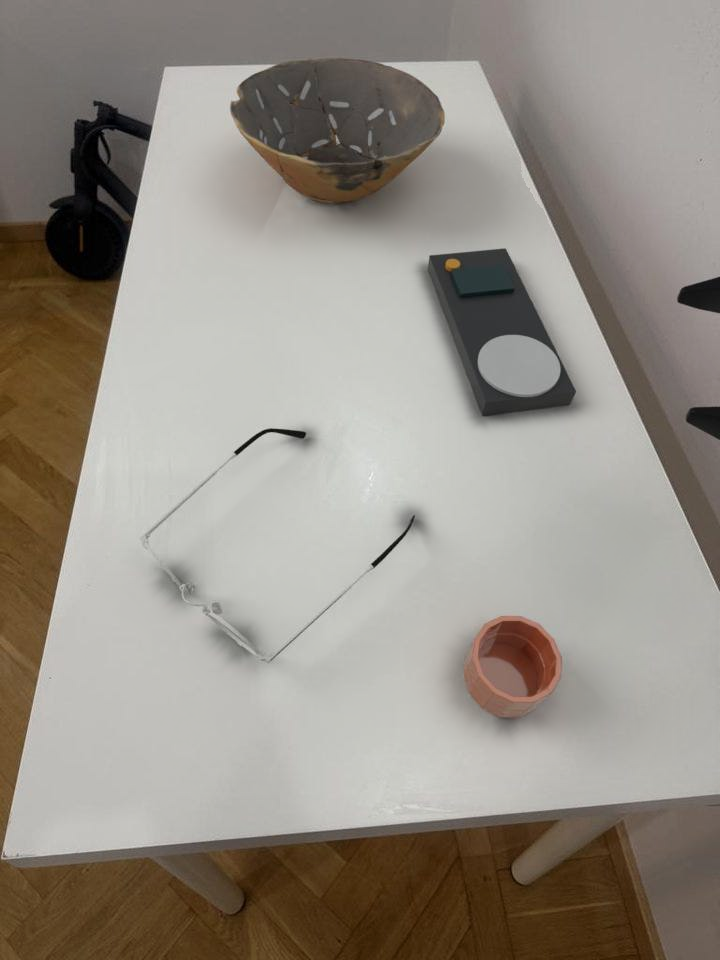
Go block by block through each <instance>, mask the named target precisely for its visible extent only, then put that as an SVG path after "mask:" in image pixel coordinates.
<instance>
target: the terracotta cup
mask: <svg viewBox="0 0 720 960" xmlns="http://www.w3.org/2000/svg"><path fill="white" fill-rule="evenodd" d="M562 660H563V658H562V655H561V653H560V650H559V648H558V645H557V643H556V640H555V639H554V637H553V636H552V635H551V634H550V633H549V632H548V631H547V630H546V629H545V628H544V627H543V626H542V625H541V624H539V623H538V622H536V621H534V620H531V619H528V618H526V617H525V616H522V615H500V616H499V617H496V618H493V619H492V620H490V621H488V622H486V623H484V624H483V626H482V628H481V629H480V630H479V631H478V633H477V634H476V636H475V637H474V639H473V641H472V643H471V644H470V647H469V649H468V650H467V652H466V655H465V657H464V664H463V672H462V675H463V679H464V683H465V685H466V689H467V692H468V693H469V696H470V697H472V698H473V700H474V701H475V702H476V703H477V704H478V706H479V707H480V708H481V709H483V711H484V710H485V711H486V712H488V713H491V714H493V715H495V716H497V717H499V718H522V717H523V716H525V715H528V714H529V713H531V712H532V711H535V710H536V709H538V707H539V706H540V705H541V704H542V703H543V702H544V701H545V700H546V699H547V698H548V697H549V696H550V695H551V694H552V693H553V691H554V690H555V688H556V686H557V684H558V683H559V681H560V680H561V677H562V664H563V663H562V662H563V661H562Z"/></svg>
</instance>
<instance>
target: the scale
mask: <svg viewBox="0 0 720 960" xmlns="http://www.w3.org/2000/svg"><path fill="white" fill-rule="evenodd" d="M427 272H428V275H429V277H430V281H431V283H432V286H433V288H434V291H435V294H436V297H437V299H438V301H439V305H440V308H441V310H442V312H443V315H444V318H445V320H446V323H447V325H448V328H449V331H450V333H451V336H452V339H453V341H454V344H455V348H456V350H457V352H458V355H459V358H460V360H461V364H462V365H463V368H464V369H463V370H464V371H465V374H466V376H467V379H468V382H469V385H470V388H471V390H472V393H473V395H474V398H475V401H476V404H477V406H478V408H479V411H480V414H481V416H482V417H485V416H494V415H500V414H501V415H502V414H508V413H509V414H511V413H518V412H524V411H534V410H540V409H547V408H549V409H550V408H556V407H563V406H564V407H565V406H570V405H572V401H573V399H574V397H575V395H576V393H577V390H576V387H575V386H574V384H573V382H572V380H571V378H570V376H569V373H568V372H567V370H566V368H565V366H564V364H563V362H562V359H561V358H560V355H559V353H558V351H557V349H556V347H555V345H554V343H553V341H552V339H551V337H550V335H549V333H548V331H547V329H546V327H545V325H544V323H543V320H542V319H541V317H540V315H539V313H538V311H537V308H536V307H535V305H534V303H533V300H532V298H531V297H530V294H529V292H528V290H527V288H526V286H525V285H524V282H523V280H522V278H521V276H520V274H519V273H518V269H517V268H516V266H515V264H514V262H513V261H512V258H511V256H510V254H509V252H508V249H507V248H505V247H504V248H493V249H484V250H483V249H482V250H474V251H473V250H472V251H463V252H452V253H441V254H430V255H429V256H428V264H427Z"/></svg>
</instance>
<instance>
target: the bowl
mask: <svg viewBox="0 0 720 960" xmlns="http://www.w3.org/2000/svg"><path fill="white" fill-rule="evenodd" d="M236 94H237V96H238V98H239V99H237V100H231V101H230V103H229V112H230V115H231V117H232V119H233V122H234V124H235V126H236V128H237V130H238V131H239V133H240V135H241V136H242V137H243V138H244V139H245V140H246V141H247V142H248V144H249V145H250V146H251V147H252V148H253V149H254V150H255V151H256V153H257V154H259V156H260V157H261V158H262V159H263V160H264V161H265V162H266V163H267V165H269V166H270V167H271V168H272V169H273V170H274V171H275V172H276V173H277V174H278V175H279V176H280V177H281V178H282V180H283V181H284V183H286V184H287V185H288V186H289V187H291V189H293V190H294V191H296V192H297V193H299V194H300V195H302V196H304V197H306V198H308V199H310V200H312V201H314V202H317V203H318V202H319V203H324V204H332V205H334V204H335V205H337V204H342V203H347V202H354V201H358V200H361V199H363V198H367V197H368V196H370V195H372V194H375V193H376V192H378V191H379V190H381V189H382V188H383V187H385V186H386V185H388V184H389V183H390V182H392V181H393V180H394V179H396V178H397V177H398V176H399V175H400V174H401V173H402V172H403V171H404V170H406V168H407V167H408V166H409V165H411V164H412V163H413V162H414V161H415V160H416V159H417V158H418V157H419V156H420V155H422V153H424V151H425V150H426V149H427V148H428V147H429V146H430V145H431V144H432V143H433V142H434V141H435V140H436V139H437V138H439V136H440V135H441V133H442V130H443V127H444V125H445V120H446V115H445V114H446V113H445V110H444V108H443V106H442V103H441V100H440V98H439V96H438V95H437V94H436V93H435V92H434V91H432V89H431V88H430V87H429V86H428V85H427V84H425V82H423V81H421V80H420V79H418V78H417V77H415V76H414V75H412V74H411V73H408V72H406V71H404V70H401V69H398V68H397V67H393V66H391V65H386V64H384V63H381V62H376V61H372V60H364V59H356V58H343V57H342V58H341V57H333V58H332V57H331V58H328V57H327V58H317V59H316V58H315V59H312V58H304V59H303V58H302V59H295V60H290V61H289V60H288V61H283V62H280V63H278V64H274V65H272V66H269V67H268V68H266V69H263V70H260V71H257V72H255V73H254V74H251V75H250V76H248V77H247V78H245V79H244V80H242V81H241V83H240V84H239V85H238V86H237V88H236ZM337 139H338V141H339V143H337Z"/></svg>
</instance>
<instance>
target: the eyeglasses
mask: <svg viewBox="0 0 720 960" xmlns="http://www.w3.org/2000/svg"><path fill="white" fill-rule="evenodd" d="M270 433H273V434H274V433H275V434H279V435H285V436H290V437H293V438H297V439H301V440H304V439H305V438H306V436H307V432H306V431H302V430H295V429H288V428H287V429H286V428H274V427H273V428H271V427H269V428H266V429H263V430H261V431H259V432H257V433H256V434H254V435H253V436H252V437H250V438H248V440H247V441H245V442H244V443H243V444H241V445H240V446H239V447H237V448H236V450H234V451H233V452H232V454H231V455H230V456H229V458H228V459H227V460H226V461H225V462H224V463H222V464H221V465H220V466H219V467H218V468H217V469H216V470H214V471H212V472H211V473H210V474H209V475H208V476H207V477H206V478H204V479H203V481H201V482H200V483H199V484H198V485H197V486H195V488H193V489H192V491H190V492H189V493H188V494H187V495H186V496H185V497H184V498H183V499H181V500H180V501H179V502H178V503H177V504H175V506H173V507H172V508H171V509H170V510H169V511H168V512H167V513H166V514H164V515H163V516H162V517H161V518H160V519H159V520H157V522H155V524H153V525H152V526H151V527H150V528H149V529H148V530H147V531H146V532H144V533H143V534H142V535H141V536H140V537H139V539H140V541H141V545H142V547H144V548H145V549H146V550H148V552H149V553H150V554H151V555H152V557H153V558H154V559H155V560H156V561H157V563H158V564H159V565H160V566H161V567H162V568H163V570H164V571H165V572H166V573H167V574H168V575H169V576H170V578H171V580H172V581H173V582H174V583H175V584H176V585H177V586H178V588H179V590H180V592H181V597H182V599H183V600H184V602H185V603H187V604H188V605H190V606H194V607H202V608H201V609H202V610H201V612H202V614H204V615H205V616H207V617H208V618H209V619H210V620H211V621H212V622H213V623H214V624H215V625H216V626H218V627H219V628H220V629H221V630H222V631H223V632H224V633H225V634H227V636H229V637H230V638H232V639H233V640H234V641H235V642H236V643H237V645H238V646H240V647H241V648H244V649H245V650H247V651H248V652H249V653H251V654H252V655H253V656H255V657H257V658H258V659H259V660H260V661H262V662H263V661H265V662H267V664H270V663H271V662H272V661H273V660H274V659H275V658H276V657H277V656H278V655H280V654H281V653H282V652H283V651H284V650H285V649H286V648H287V647H288V646H290V644H292V643H293V642H294V641H295V640H297V638H298V637H300V636H301V634H302V633H303V632H305V631H306V630H307V629H308V628H309V627H310V626H311V625H312V624H314V623H315V621H317V620H318V619H319V618H320V617H321V616H322V615H324V613H326V612H327V610H329V609H330V608H331V607H332V606H333V605H334V604H335V603H336V602H337V601H339V600H340V599H341V598H342V597H343V596H344V595H345V594H347V592H348V591H349V590H350V589H352V587H353V586H354V585H355V584H357V582H359V581H360V580H361V579H362V578H363V577H364V576H365V575H366V574H368V573H369V572H371V571H373V570H374V569H375V568H377V566H378V565H380V563H382V562H383V560H385V558H387V557H388V555H390V553H392V551H393V550H394V549H395V548H396V547H397V545H399V543H401V541H402V540H403V539H404V538H405V537H406V535H407V534H408V533H409V531H410V529H411V527H412V525H413V523H414V520H415V518H416V515H415V514H413V515H412V517H411V519H410V520H409V523H408V526H407V527H406V529H405V530H404V531H403V532H402V533H401V535H399V536H398V537H397V538H396V539H395V540H394V541H393V542H392V543H391V544H390V545H389V546H388V547H387V548H386V549H385V550H384V551H383V552H382V553H381V554H380V555H379V556H378V557H377V558H375V560H373V561H372V562H371V563H370V565H369V566H368V567H367V568H366V570H365V571H364V572H363V573H362V574H361V575H359V577H357V578H356V579H355V580H354V581H353V582H352V583H351V584H349V585H348V586H347V587H345V589H344V590H343V591H342V592H340V593H339V594H338V595H337V596H336V597H335V598H334V599H332V601H331V602H329V603H328V604H327V605H326V606H325V607H324V608H323V609H322V610H320V611H319V612H318V613H317V614H316V615H315V616H314V617H313V618H312V619H310V620H309V621H308V622H307V623H306V624H305V625H303V627H301V628H300V629H299V630H298V631H297V632H296V633H295V634H294V635H293V636H291V638H289V639H288V640H287V641H286V642H285V643H284V644H282V646H281V647H279V648H278V649H277V650H276V651H271V652H270V653H269V654H268V653H267V652H262V651H260V650H259V649H258V648H257V647H256V646H255V645H254V644H253V643H251V642H250V640H249V639H247V638H246V637H245V636H244V635H243V634H242V633H241V632H239V630H237V629H236V628H235V627H233V626H232V625H231V624H230V623H229V622H227V621H226V620H224V619H223V618H222V617H220V615H222V614H223V609H222V607H221V604H220V601H217V600H215V601H212V603H211V609H212V611H211V610H210V609H209V608H208V606H207V604H205V603H192V602H190V601H188V600H187V599H186V598H185V595H186V596H188V595H190V592H189V589H191V594H194V593H195V591H196V589H197V585H198V581H194V583H191V582H187V583H182V582H180V580H179V579H178V577H176V575H175V574H174V573H173V572H172V571H171V569H169V567H168V566H167V564H166V563H165V562H164V561H163V560H162V559H161V558H160V557H159V555H158V554H157V553H156V551H154V550H153V548H152V547H151V546H150V544H149V540H148V539H149V538H150V537H151V534H152V533H153V532H154V531H155V530H157V528H159V527H160V526H161V525H162V524H163V523H164V522H165V521H166V520H168V518H170V517H171V516H172V515H173V514H174V513H175V512H176V511H177V510H178V509H180V507H182V506H183V505H184V504H185V503H186V502H187V501H188V500H189V499H190V498H191V497H192V496H194V495H195V494H196V493H197V492H198V491H199V490H200V489H201V488H202V487H204V485H206V484H207V483H208V482H209V481H211V479H212V478H213V477H214V476H215V475H217V473H218V472H219V471H220V470H221V469H222V468H223V467H224V466H226V465H227V464H228V463H229V462H230V461H231V460H233V459H235V458H236V457H237V456H239V455H240V454H241V453H243V451H244V450H246V449H247V448H248V447H250V445H251V444H253V443H254V442H255V441H257V440H258V439H259V438H261V437H263V436H264V435H266V434H270ZM187 585H189V586H188V587H189V589H188V588H187Z"/></svg>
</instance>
